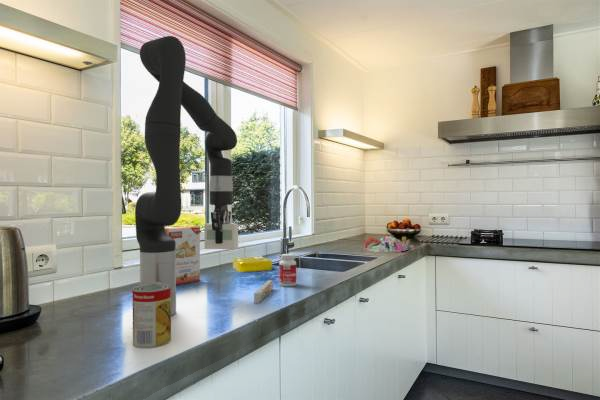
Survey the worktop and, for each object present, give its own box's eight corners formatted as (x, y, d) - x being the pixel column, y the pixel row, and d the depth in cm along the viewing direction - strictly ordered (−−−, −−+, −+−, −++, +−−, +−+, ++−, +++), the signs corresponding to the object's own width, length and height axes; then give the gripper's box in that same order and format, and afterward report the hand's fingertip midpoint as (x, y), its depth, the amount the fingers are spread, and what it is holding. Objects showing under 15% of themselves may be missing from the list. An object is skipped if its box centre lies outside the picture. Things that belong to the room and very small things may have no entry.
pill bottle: (281, 287, 146) (281, 256, 146) (277, 284, 152) (277, 253, 152) (298, 286, 148) (298, 255, 148) (293, 282, 154) (293, 253, 154)
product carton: (234, 249, 132) (234, 224, 132) (204, 248, 134) (204, 224, 134) (238, 247, 137) (238, 223, 137) (209, 247, 138) (208, 223, 138)
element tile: (231, 267, 191) (231, 257, 191) (263, 265, 196) (263, 255, 196) (239, 273, 177) (239, 261, 177) (273, 270, 182) (273, 259, 182)
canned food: (175, 335, 95) (174, 283, 95) (165, 347, 87) (164, 290, 87) (140, 336, 95) (139, 283, 95) (127, 348, 87) (126, 291, 87)
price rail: (261, 303, 123) (261, 293, 123) (254, 303, 124) (254, 293, 124) (274, 289, 143) (274, 280, 143) (268, 288, 144) (268, 280, 144)
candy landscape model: (385, 247, 264) (385, 233, 264) (417, 251, 245) (416, 235, 245) (358, 251, 248) (358, 235, 248) (389, 255, 230) (389, 238, 230)
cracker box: (169, 286, 149) (168, 228, 149) (159, 284, 153) (159, 227, 153) (201, 280, 160) (200, 226, 160) (191, 278, 163) (191, 225, 163)
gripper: (225, 189, 128) (225, 245, 128) (238, 190, 142) (238, 240, 142) (202, 189, 129) (202, 245, 129) (217, 190, 143) (217, 240, 143)
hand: (221, 242), depth 135 cm, fingers closed on product carton, 4 cm apart
